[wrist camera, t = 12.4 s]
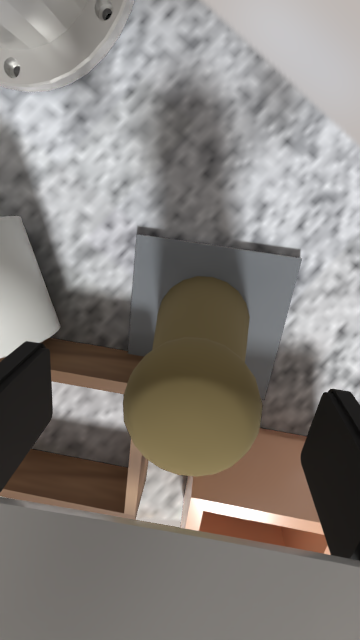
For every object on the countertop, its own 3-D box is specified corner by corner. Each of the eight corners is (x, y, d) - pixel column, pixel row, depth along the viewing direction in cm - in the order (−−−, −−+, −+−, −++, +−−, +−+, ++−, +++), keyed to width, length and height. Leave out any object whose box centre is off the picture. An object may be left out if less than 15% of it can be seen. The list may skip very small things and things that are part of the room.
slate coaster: (138, 233, 20) (136, 234, 19) (300, 257, 19) (302, 258, 19) (127, 373, 23) (125, 375, 23) (263, 396, 22) (264, 399, 22)
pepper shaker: (263, 343, 21) (308, 480, 10) (181, 374, 22) (150, 520, 12) (227, 259, 19) (238, 323, 9) (141, 299, 21) (65, 392, 10)
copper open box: (198, 417, 24) (190, 497, 17) (313, 437, 23) (351, 528, 17) (183, 499, 27) (172, 594, 20) (285, 519, 26) (307, 623, 20)
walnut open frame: (-34, 323, 23) (-82, 346, 20) (160, 356, 22) (149, 387, 19) (-18, 446, 27) (-56, 484, 24) (146, 478, 26) (134, 523, 23)
